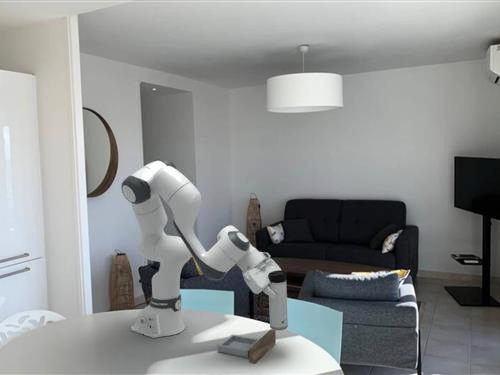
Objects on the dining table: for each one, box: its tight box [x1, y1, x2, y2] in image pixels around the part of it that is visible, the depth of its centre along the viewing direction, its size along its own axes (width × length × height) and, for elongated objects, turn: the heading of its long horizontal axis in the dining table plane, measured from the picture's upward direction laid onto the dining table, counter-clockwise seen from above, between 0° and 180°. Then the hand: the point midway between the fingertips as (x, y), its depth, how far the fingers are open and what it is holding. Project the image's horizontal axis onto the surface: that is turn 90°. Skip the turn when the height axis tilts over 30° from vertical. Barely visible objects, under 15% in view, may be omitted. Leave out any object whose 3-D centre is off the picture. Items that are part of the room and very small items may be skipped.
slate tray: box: [217, 333, 260, 359], centre depth 161 cm, size 12×11×3 cm
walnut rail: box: [249, 328, 277, 365], centre depth 158 cm, size 2×18×5 cm, turn 154°
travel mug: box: [268, 269, 289, 331], centre depth 154 cm, size 6×7×20 cm
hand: (279, 293), depth 153 cm, fingers closed on travel mug, 6 cm apart
